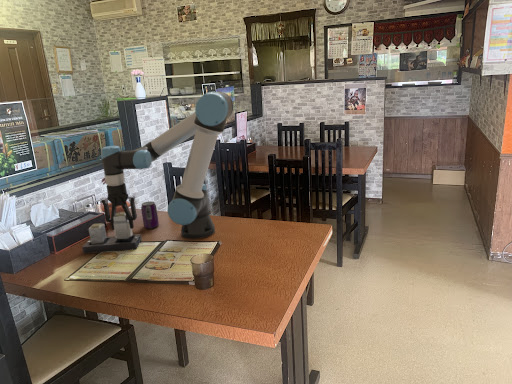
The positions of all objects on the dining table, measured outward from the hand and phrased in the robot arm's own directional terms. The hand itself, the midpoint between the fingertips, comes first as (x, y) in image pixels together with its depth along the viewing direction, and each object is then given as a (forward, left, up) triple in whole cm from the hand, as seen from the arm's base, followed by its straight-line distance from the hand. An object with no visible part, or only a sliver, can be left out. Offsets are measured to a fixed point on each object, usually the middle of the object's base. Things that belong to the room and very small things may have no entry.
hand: (124, 235), depth 168 cm
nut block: (0, 0, 0) cm, 0 cm away
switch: (+5, 0, -5) cm, 7 cm away
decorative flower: (+12, -34, -5) cm, 36 cm away
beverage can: (-7, -22, -5) cm, 23 cm away
